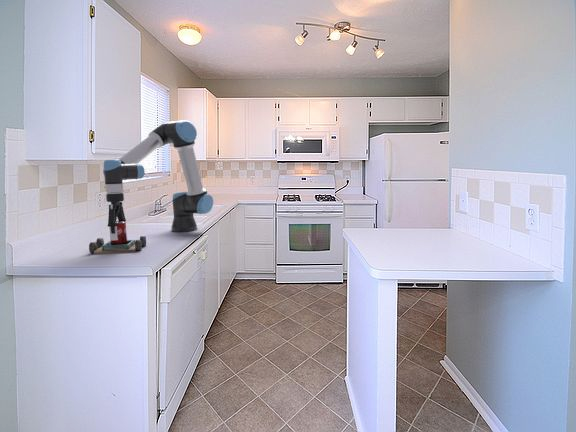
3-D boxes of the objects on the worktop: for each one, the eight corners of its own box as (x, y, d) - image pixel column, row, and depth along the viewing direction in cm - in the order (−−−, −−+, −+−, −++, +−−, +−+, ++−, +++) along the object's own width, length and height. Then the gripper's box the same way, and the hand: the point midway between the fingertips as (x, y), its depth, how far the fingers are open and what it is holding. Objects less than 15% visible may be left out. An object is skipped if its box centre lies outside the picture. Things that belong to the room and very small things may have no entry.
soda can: (121, 244, 192) (119, 220, 191) (130, 246, 189) (129, 221, 187) (107, 247, 186) (105, 222, 185) (117, 249, 183) (115, 223, 181)
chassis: (100, 247, 194) (99, 237, 193) (146, 244, 197) (146, 235, 196) (89, 254, 178) (88, 243, 177) (139, 251, 181) (138, 241, 181)
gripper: (113, 191, 196) (117, 233, 199) (97, 195, 171) (101, 243, 174) (129, 190, 197) (132, 232, 200) (115, 194, 172) (119, 242, 175)
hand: (118, 237), depth 187 cm, fingers open, 13 cm apart
